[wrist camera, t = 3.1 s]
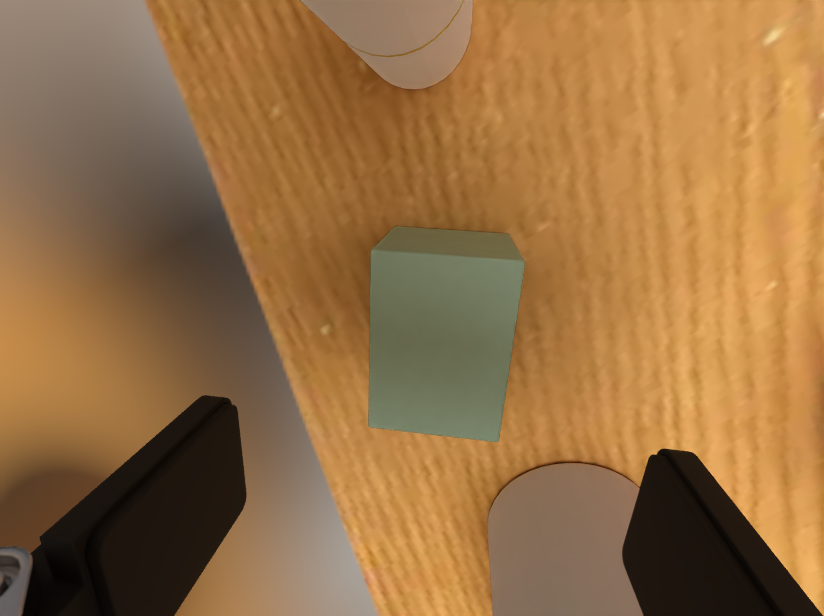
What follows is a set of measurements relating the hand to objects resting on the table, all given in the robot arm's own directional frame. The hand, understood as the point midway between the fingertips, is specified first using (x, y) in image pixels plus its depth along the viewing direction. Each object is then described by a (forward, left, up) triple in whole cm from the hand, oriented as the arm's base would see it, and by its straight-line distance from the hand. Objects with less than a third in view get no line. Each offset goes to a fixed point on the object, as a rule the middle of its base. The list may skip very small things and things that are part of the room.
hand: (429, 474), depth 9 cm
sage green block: (0, 0, -11) cm, 11 cm away
